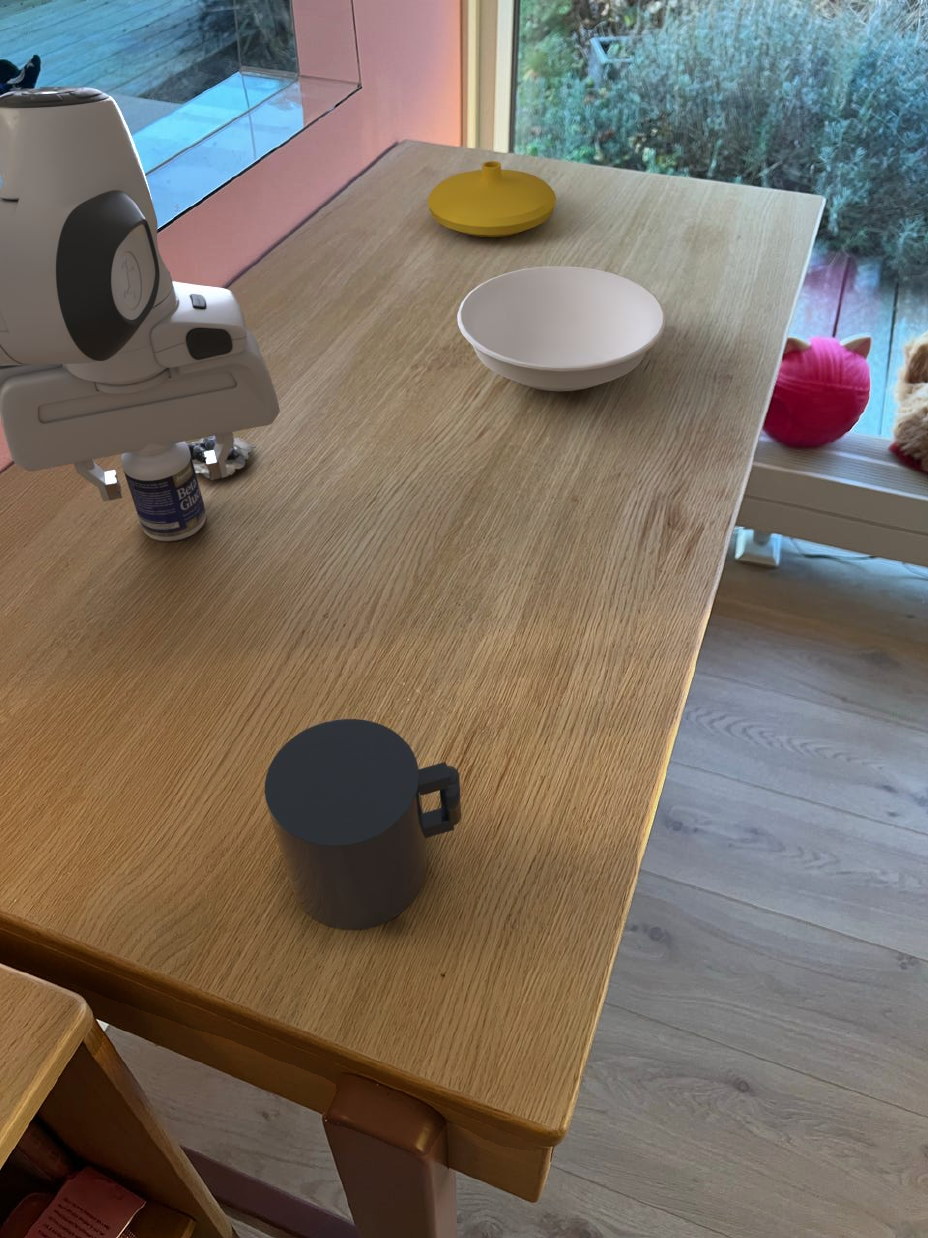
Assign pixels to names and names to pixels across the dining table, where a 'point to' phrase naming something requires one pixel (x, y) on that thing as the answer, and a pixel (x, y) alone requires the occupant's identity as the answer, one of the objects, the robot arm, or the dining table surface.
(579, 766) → the dining table surface
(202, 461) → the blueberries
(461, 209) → the vase
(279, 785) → the mug
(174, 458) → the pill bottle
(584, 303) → the bowl
